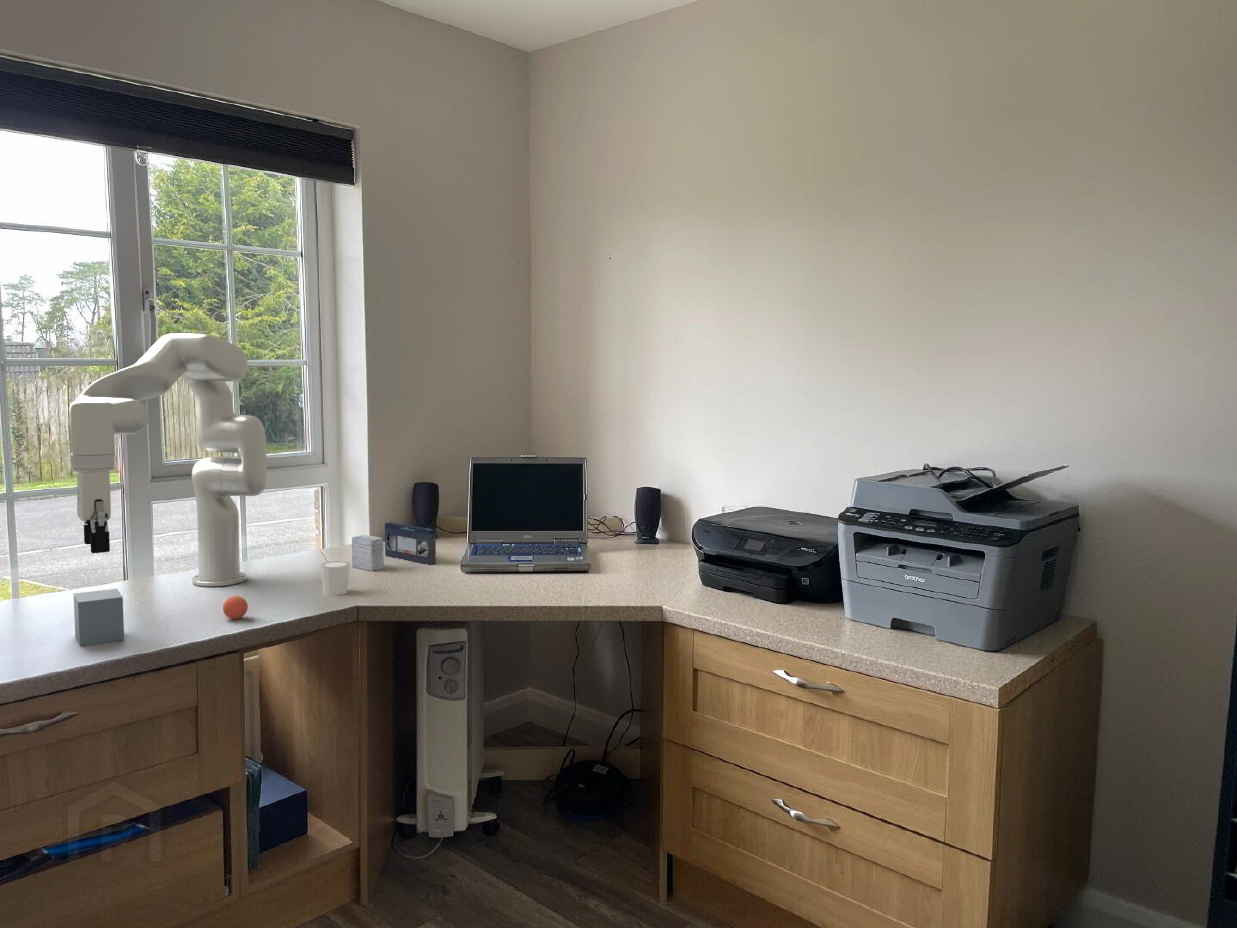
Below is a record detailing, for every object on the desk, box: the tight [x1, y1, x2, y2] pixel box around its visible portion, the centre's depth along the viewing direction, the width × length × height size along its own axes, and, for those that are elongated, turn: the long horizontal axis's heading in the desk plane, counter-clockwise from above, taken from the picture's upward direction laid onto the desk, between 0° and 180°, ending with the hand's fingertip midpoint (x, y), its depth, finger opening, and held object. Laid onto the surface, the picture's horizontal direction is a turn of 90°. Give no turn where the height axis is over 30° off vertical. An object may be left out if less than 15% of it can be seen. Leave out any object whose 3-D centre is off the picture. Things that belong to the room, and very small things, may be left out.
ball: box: [222, 595, 249, 620], centre depth 197 cm, size 5×5×5 cm
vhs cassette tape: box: [384, 521, 437, 566], centre depth 258 cm, size 18×3×10 cm, turn 55°
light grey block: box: [351, 534, 385, 572], centre depth 246 cm, size 8×4×9 cm, turn 58°
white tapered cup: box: [320, 561, 351, 596], centre depth 221 cm, size 7×7×7 cm
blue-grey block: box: [73, 588, 125, 647], centre depth 181 cm, size 8×8×9 cm
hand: (96, 547), depth 180 cm, fingers open, 9 cm apart
